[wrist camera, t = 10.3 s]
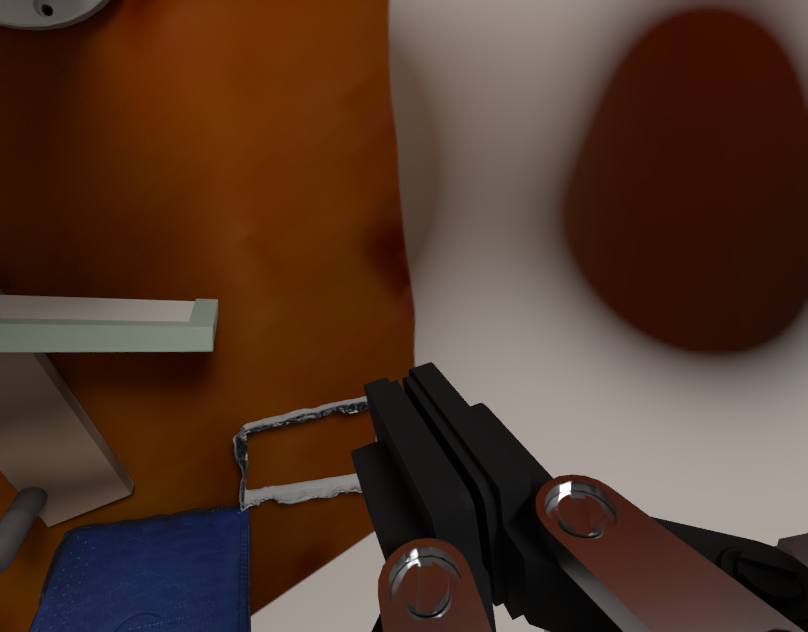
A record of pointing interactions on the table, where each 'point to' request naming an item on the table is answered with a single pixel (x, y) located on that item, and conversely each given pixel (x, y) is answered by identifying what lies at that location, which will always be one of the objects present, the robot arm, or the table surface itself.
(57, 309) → the panel
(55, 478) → the gate frame
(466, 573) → the robot arm
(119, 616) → the book
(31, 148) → the table surface
